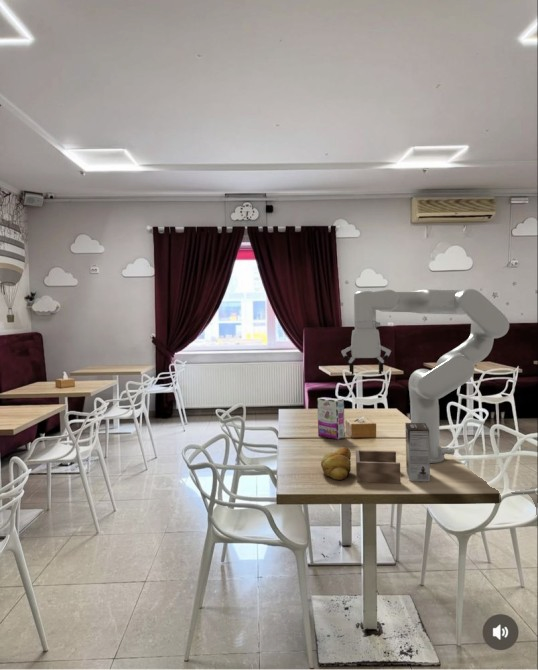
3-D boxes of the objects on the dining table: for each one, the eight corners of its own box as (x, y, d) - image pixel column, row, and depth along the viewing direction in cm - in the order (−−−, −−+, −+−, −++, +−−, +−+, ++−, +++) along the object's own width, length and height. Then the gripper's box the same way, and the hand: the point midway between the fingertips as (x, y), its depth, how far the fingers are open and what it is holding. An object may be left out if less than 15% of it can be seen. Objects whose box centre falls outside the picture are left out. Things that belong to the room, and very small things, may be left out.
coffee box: (405, 471, 145) (404, 422, 144) (426, 471, 143) (425, 422, 143) (409, 481, 136) (408, 429, 135) (431, 482, 134) (430, 429, 134)
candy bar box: (345, 437, 188) (344, 399, 187) (337, 440, 184) (337, 400, 184) (325, 433, 196) (324, 396, 195) (317, 435, 192) (316, 397, 192)
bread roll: (351, 482, 136) (351, 456, 136) (319, 481, 137) (319, 456, 137) (351, 469, 148) (350, 445, 148) (322, 468, 150) (321, 444, 150)
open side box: (395, 469, 147) (395, 451, 147) (400, 483, 134) (400, 463, 134) (356, 467, 149) (355, 450, 149) (357, 481, 136) (356, 462, 136)
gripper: (389, 325, 160) (390, 372, 160) (340, 326, 163) (341, 373, 163) (391, 325, 153) (392, 375, 153) (340, 326, 156) (341, 375, 156)
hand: (366, 374), depth 158 cm, fingers open, 9 cm apart
